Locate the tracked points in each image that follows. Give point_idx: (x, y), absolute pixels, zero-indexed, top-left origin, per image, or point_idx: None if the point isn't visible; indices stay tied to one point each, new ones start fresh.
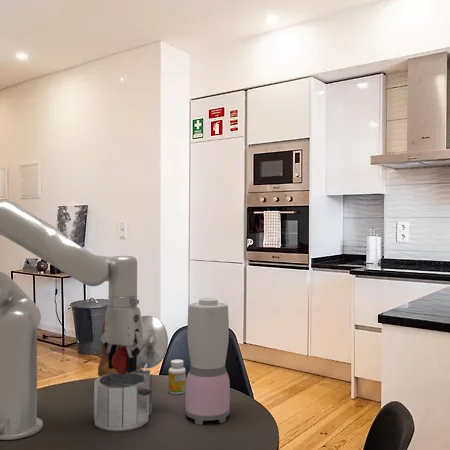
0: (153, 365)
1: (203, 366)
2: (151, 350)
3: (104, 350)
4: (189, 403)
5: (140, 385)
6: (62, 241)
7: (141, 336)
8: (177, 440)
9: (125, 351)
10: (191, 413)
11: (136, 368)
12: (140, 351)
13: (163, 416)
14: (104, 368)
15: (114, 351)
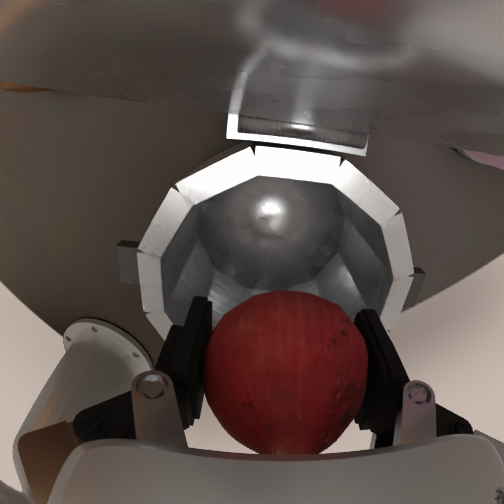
0: (415, 140)
1: None
2: (450, 115)
3: None
4: (483, 156)
5: (398, 312)
6: None
7: (499, 493)
8: (455, 262)
9: (331, 443)
10: (471, 156)
11: (376, 314)
12: (456, 418)
13: (372, 134)
14: (12, 85)
15: (187, 409)
